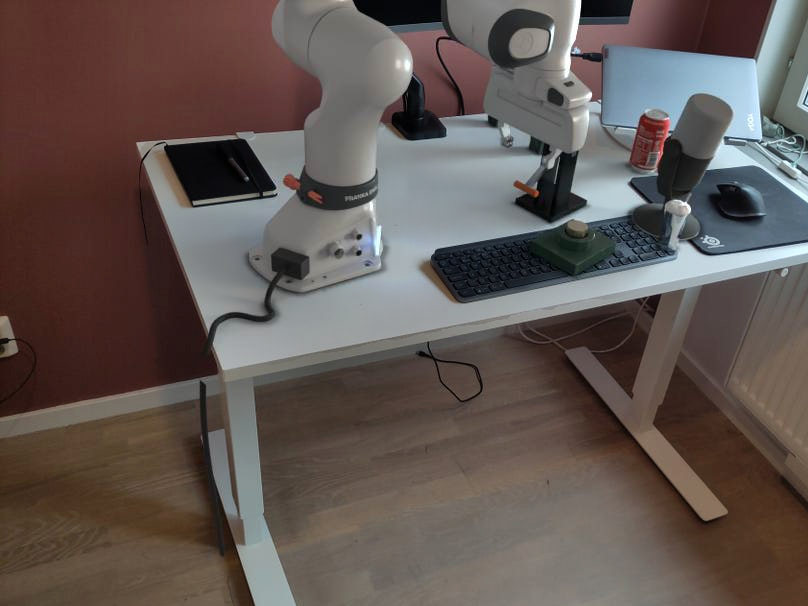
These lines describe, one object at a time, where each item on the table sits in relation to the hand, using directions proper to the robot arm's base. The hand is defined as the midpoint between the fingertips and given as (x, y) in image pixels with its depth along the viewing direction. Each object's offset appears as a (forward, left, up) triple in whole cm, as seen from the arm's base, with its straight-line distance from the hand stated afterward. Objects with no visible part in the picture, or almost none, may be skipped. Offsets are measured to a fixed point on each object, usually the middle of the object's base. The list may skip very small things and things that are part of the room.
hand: (526, 156), depth 145 cm
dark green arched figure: (+27, +23, -13) cm, 38 cm away
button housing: (0, -13, -13) cm, 18 cm away
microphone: (+23, -18, -13) cm, 32 cm away
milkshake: (+16, -23, -13) cm, 31 cm away
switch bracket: (+10, 0, -13) cm, 16 cm away
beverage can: (+39, -2, -13) cm, 41 cm away
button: (0, -13, -9) cm, 16 cm away
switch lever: (+6, 0, -4) cm, 8 cm away
